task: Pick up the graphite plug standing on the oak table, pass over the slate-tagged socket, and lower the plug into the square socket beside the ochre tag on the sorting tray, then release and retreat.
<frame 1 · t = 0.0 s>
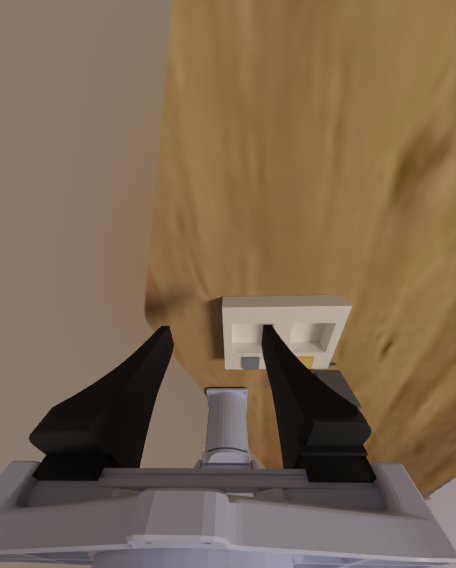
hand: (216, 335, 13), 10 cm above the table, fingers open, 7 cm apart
sorting tray: (276, 328, 26), on the table
plug: (320, 369, 31), on the table
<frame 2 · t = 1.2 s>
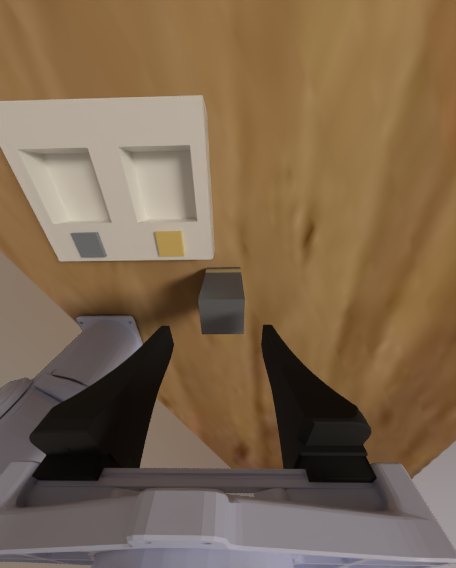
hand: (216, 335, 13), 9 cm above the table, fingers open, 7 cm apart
sorting tray: (131, 194, 17), on the table
plug: (224, 282, 22), on the table
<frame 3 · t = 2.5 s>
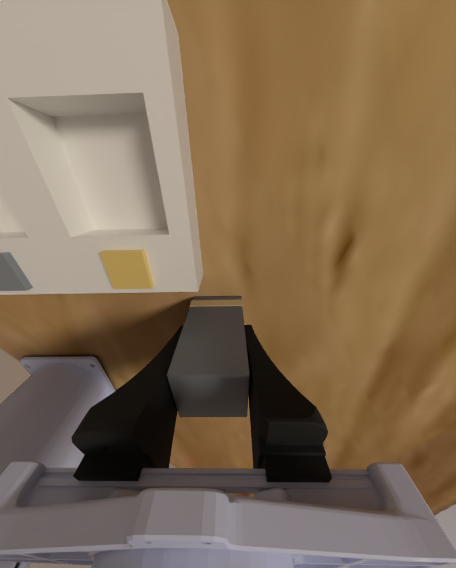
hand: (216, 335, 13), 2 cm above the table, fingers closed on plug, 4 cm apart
sorting tray: (67, 191, 11), on the table
plug: (218, 315, 15), on the table, touching gripper
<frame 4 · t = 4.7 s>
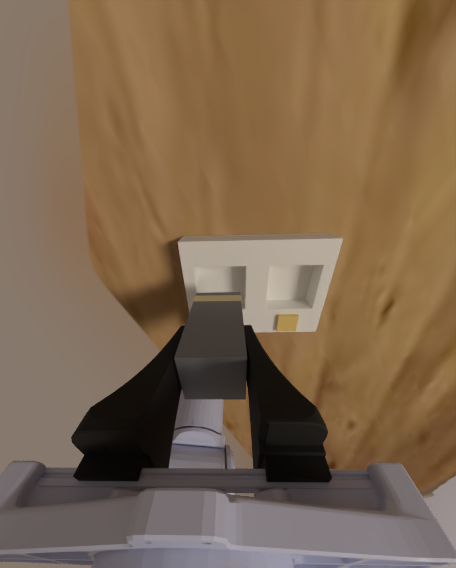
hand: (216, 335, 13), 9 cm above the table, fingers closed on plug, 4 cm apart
sorting tray: (253, 282, 22), on the table
plug: (219, 310, 16), point 6 cm above the table, touching gripper
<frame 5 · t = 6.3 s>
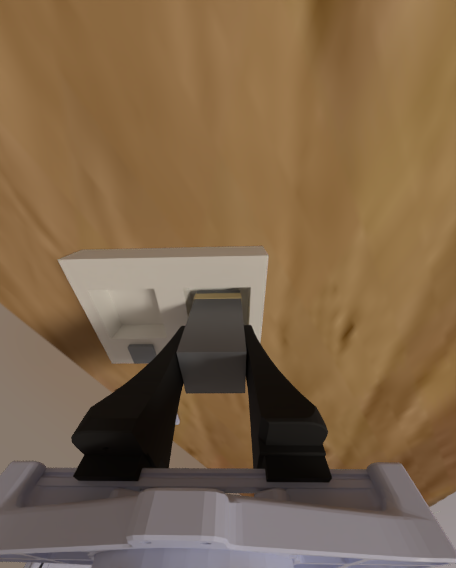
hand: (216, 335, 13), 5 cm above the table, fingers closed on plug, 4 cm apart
sorting tray: (181, 304, 18), on the table
plug: (219, 307, 17), point 1 cm above the table, touching gripper
when the fingers open (4 cm above the table, at t = 7.1 s): plug stays where it is, resting on sorting tray.
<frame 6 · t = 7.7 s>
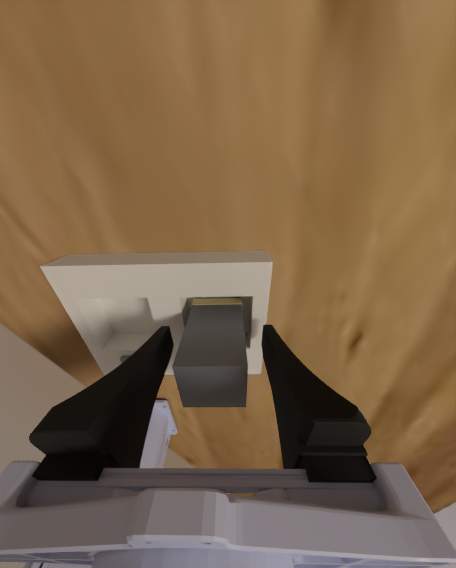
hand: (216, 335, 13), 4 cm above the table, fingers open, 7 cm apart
sorting tray: (178, 311, 17), on the table
plug: (219, 313, 16), resting on sorting tray
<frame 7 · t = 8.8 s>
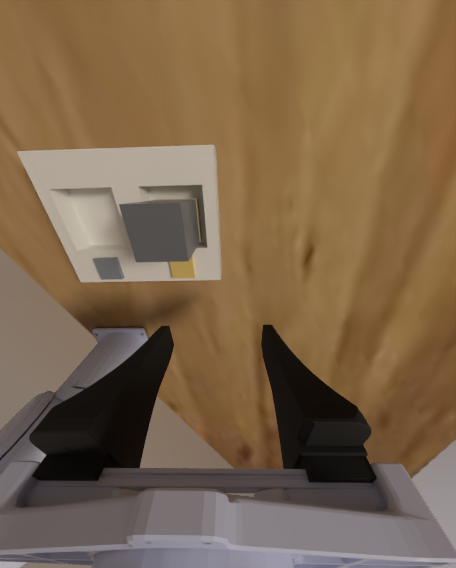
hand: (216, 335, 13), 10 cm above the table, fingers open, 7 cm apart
sorting tray: (146, 221, 19), on the table
plug: (181, 220, 18), resting on sorting tray
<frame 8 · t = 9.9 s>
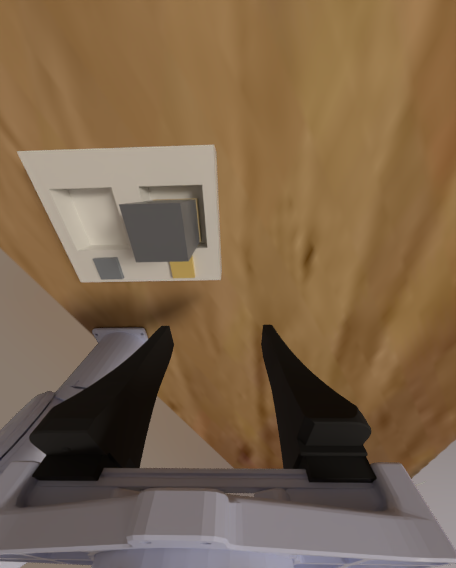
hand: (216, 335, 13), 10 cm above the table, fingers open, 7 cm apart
sorting tray: (146, 221, 19), on the table
plug: (181, 220, 18), resting on sorting tray
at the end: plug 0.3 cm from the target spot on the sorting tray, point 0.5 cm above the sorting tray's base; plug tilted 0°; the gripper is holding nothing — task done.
